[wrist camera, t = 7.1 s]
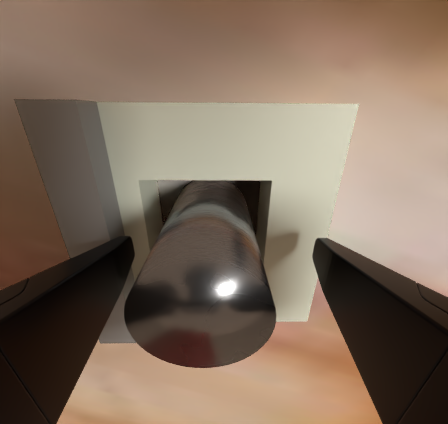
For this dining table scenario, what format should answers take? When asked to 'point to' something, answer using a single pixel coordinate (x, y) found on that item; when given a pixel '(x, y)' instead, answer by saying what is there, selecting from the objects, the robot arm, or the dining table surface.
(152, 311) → the metal cylinder rod
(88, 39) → the dining table surface
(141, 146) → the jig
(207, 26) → the dining table surface
